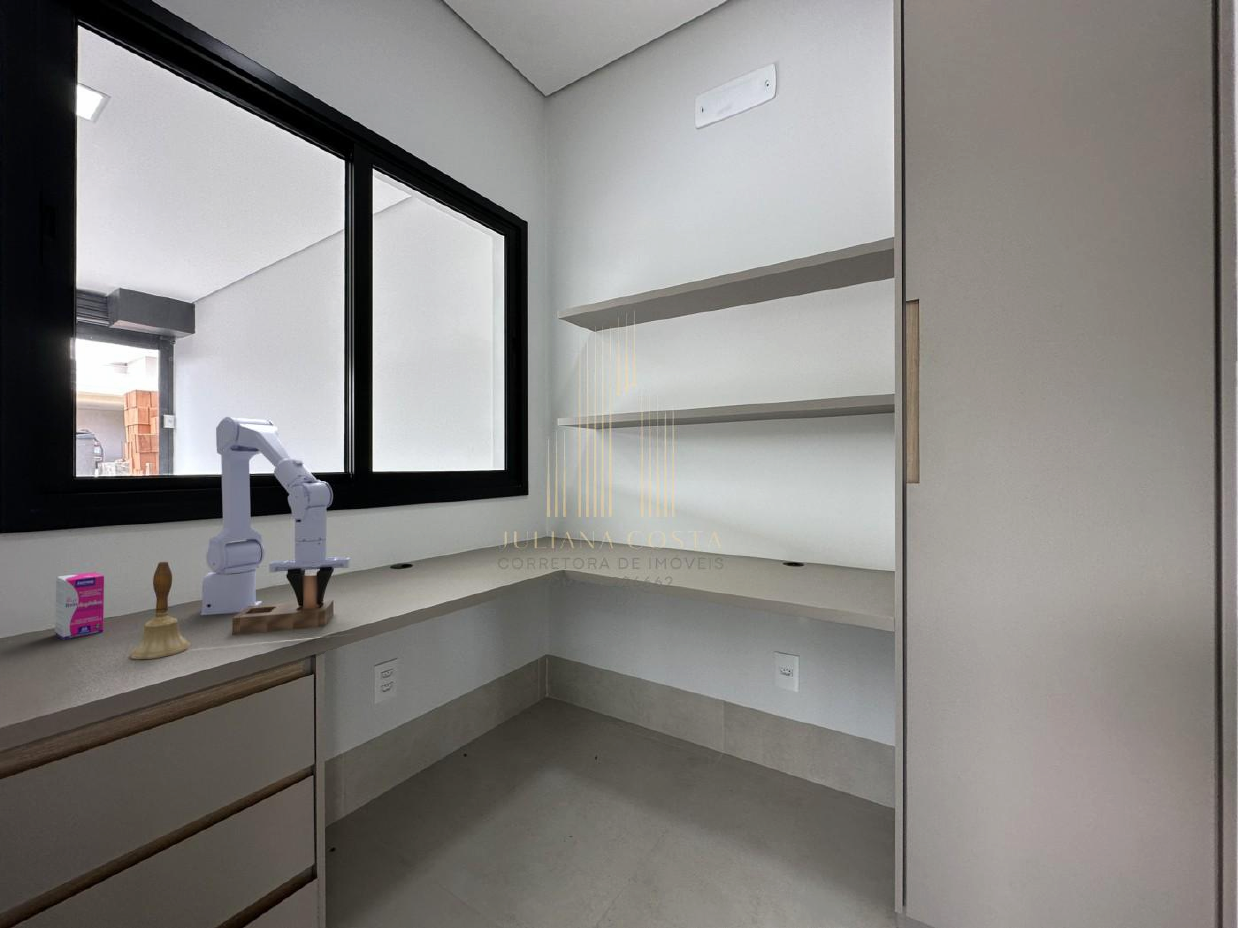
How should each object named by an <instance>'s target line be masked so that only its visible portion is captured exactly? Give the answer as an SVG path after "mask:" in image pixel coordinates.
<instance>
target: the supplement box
mask: <svg viewBox="0 0 1238 928" xmlns="http://www.w3.org/2000/svg"><path fill="white" fill-rule="evenodd" d="M104 600H105V576H104V575H103V574H100V573H98V572H96V571H94V572H86V573H85V572H83V573H77V574H76V573H75V574H68V575H60V576H56V577H55V609H54V610H55V611H54V613H55V615H54V635H55V636H57V637H58V638H59V639H61V640H62V641H63V640H68V639H71V638H77V637H83V636H88V635H93V634H99V633H103V632H104V618H105V617H104V615H105V613H104V610H105V609H104V608H105V607H104V605H105V603H104V602H105V601H104Z"/></svg>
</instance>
